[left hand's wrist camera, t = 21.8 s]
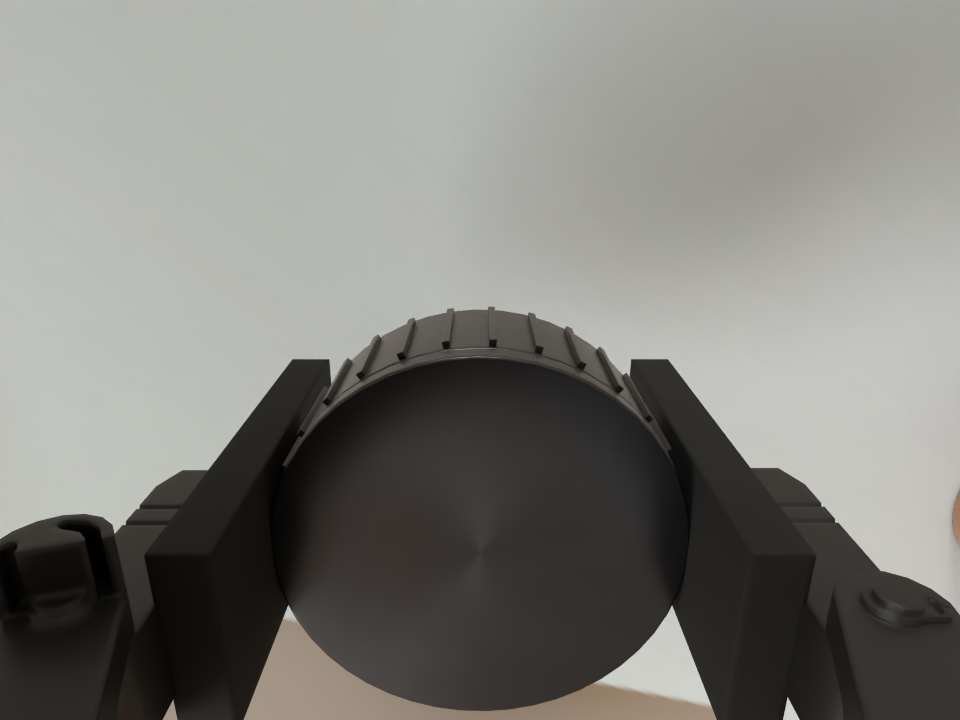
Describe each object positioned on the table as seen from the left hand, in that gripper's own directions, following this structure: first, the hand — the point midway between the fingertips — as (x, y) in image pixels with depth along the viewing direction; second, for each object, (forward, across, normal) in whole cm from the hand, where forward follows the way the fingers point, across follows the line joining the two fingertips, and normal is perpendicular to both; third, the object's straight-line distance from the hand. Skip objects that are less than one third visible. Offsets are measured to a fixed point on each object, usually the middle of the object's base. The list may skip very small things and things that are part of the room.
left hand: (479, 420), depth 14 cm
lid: (-4, 0, 0) cm, 4 cm away
